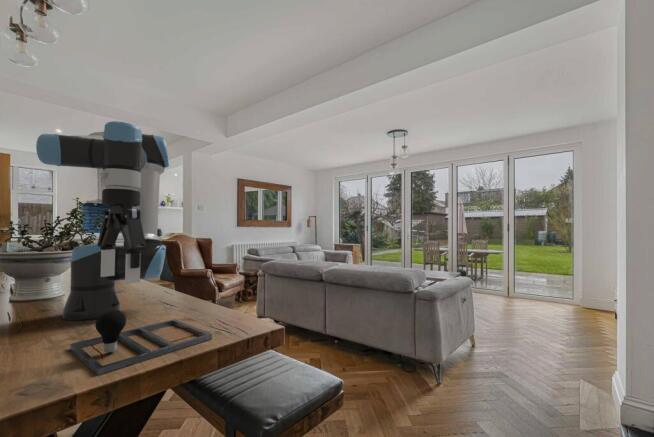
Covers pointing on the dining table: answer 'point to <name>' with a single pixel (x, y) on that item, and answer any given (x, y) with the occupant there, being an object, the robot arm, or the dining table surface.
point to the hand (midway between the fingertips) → (119, 279)
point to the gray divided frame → (145, 353)
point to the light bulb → (110, 328)
